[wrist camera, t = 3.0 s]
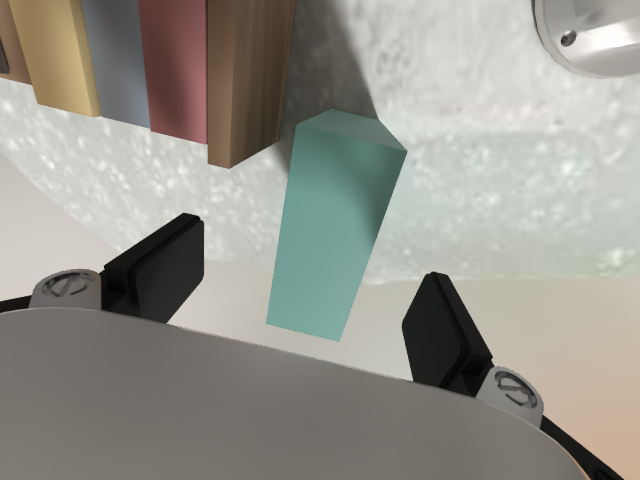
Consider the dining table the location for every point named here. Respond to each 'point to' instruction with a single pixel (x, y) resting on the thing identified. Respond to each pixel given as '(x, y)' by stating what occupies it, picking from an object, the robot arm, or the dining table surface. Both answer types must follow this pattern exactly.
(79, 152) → the dining table surface
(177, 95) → the book rack
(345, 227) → the loose book
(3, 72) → the bookend
